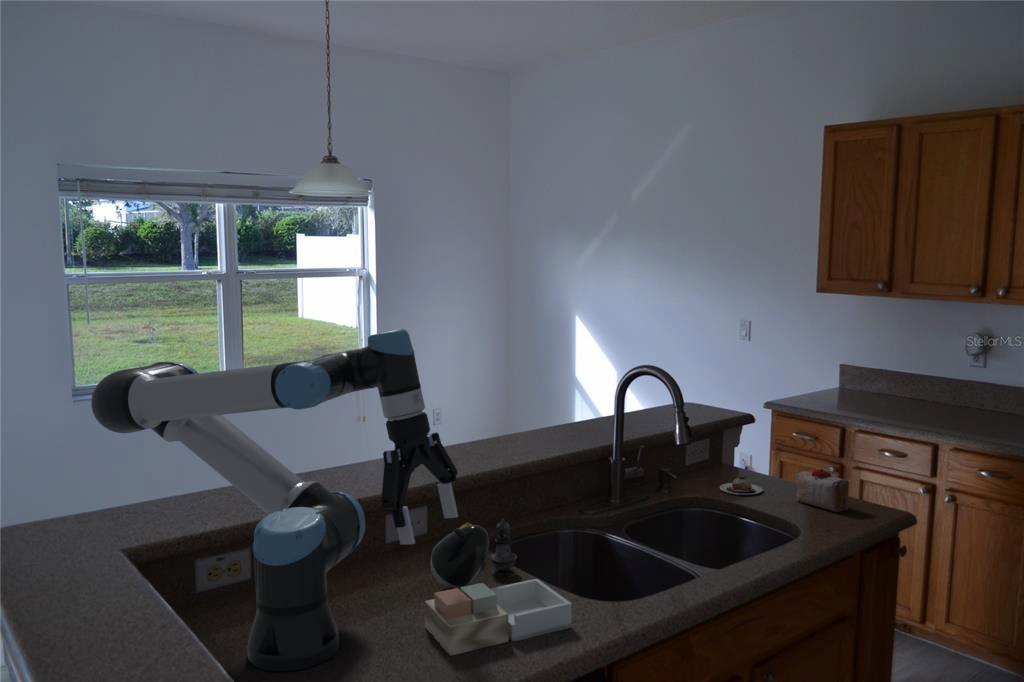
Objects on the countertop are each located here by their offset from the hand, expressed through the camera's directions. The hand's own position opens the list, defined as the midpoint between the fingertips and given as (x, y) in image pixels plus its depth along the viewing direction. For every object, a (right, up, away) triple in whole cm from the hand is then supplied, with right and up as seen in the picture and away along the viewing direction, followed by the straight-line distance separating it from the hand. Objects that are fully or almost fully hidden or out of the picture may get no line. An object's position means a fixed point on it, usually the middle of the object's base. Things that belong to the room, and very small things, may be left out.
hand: (430, 530), depth 143 cm
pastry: (+81, -10, +87) cm, 119 cm away
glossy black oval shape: (+1, -14, +21) cm, 25 cm away
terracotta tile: (+4, -13, -3) cm, 14 cm away
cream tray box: (+7, -18, -2) cm, 19 cm away
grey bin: (+17, -18, +4) cm, 25 cm away
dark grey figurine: (+13, -16, +27) cm, 34 cm away
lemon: (+5, -15, +36) cm, 39 cm away
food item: (+99, -11, +72) cm, 122 cm away
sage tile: (+9, -13, -1) cm, 16 cm away
